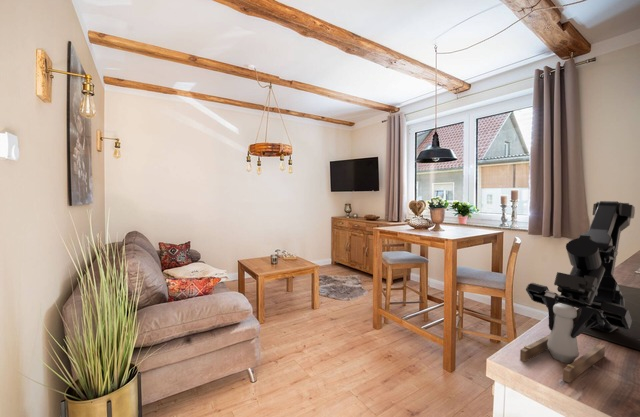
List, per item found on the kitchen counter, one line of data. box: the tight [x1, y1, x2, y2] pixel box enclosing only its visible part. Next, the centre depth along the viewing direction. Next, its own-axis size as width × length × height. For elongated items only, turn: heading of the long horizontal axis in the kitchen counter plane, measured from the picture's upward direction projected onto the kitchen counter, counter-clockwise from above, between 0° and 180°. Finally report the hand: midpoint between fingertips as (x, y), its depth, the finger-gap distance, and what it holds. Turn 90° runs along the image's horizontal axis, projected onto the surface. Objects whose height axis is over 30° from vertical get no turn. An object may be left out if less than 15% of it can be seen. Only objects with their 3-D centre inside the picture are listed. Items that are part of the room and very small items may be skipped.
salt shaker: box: [547, 303, 580, 364], centre depth 67 cm, size 6×6×13 cm
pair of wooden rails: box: [519, 333, 606, 383], centre depth 67 cm, size 20×9×3 cm, turn 119°
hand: (561, 333), depth 66 cm, fingers open, 4 cm apart
